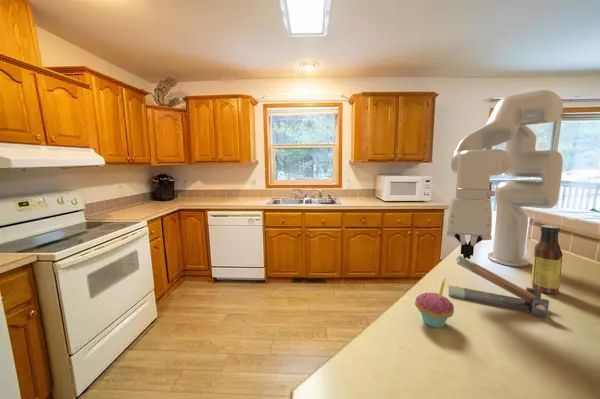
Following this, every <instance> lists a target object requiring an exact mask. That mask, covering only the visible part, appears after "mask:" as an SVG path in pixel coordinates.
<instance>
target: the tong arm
mask: <svg viewBox="0 0 600 399" xmlns="http://www.w3.org/2000/svg"><path fill="white" fill-rule="evenodd" d="M455 261H456V264H457V265H459V266H460V267H462V268H464V269H466V270H468V271H470V272H471V273H474V274H475V275H477V276H479V277H480V278H482V279H484V280H486V281H488V282H490V283H492V284H494V285H496V286H498V287H499V288H501V289H503V290H505V291H506V292H509V293H510V294H512V295H515V296H516V297H517V298H520V299H523V300H525V301H527V302H529V303H530V304H531V303H532V297H535V298H537V297H536V295H534V294H532V293H530V292H528V291H527V290H526V288H525V289H524V288H523V287H521V286H520V285H517V284H515V283H513V282H511V281H509V280H507V279H506V278H504V277H501V276H500V275H498V274H496V273H494V272H492V271H491V270H488V269H486V268H485V267H482V266H480V265H479V264H477V263H476V262H473V261H471V259H468V258H466V259H465V258H463V255H461V254H458V256H457V257H456V259H455Z"/></svg>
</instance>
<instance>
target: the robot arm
mask: <svg viewBox="0 0 600 399" xmlns="http://www.w3.org/2000/svg"><path fill="white" fill-rule="evenodd" d="M563 111H564V103H563V99H562V97H561V96H560V95H559V94H557V93H555V92H554V91H552V90H548V89H539V90H538V89H537V90H533V91H528V92H522V93H517V94H510V95H508V96H505V97H503V98H501V99H500V100H499V101H498V102H496V105H495V106H494V108H493V110H492V112H491V114H490V116H489V118H488V120H487V122H486V123H485V125H483V126H481V127H479V128H478V129H475V131H473V132H472V133H470V134H468V135H466V136H465V137H463V139H461V141H460V142H459V143H458V145H457V147H456V149H455V150H454V152H453V154H452V157H451V160H450V169H451V170H452V172H453V173H454V174H456V185H455V186H456V187H455V197H452V200H451V202H450V206H449V207H450V208H449V214H448V221H447V223H448V224H447V226H448V228H447V230H446V235H447V236H449V237H451V238H455V239H456V240H457V241H458V242H459V243H460V255H462V257H463V258H465V259H468V260H471V256H472V257H473V256H474V249H475V248H474V247H475V246H476V244H478V243H480V242H483V241H491V240H492V238H493V237H494V238H493V246H492V247H493V249H492V252H489V253H488V254H487V258H488V259H489V260H490V261H491V262H494V263H497V264H501V265H504V266H508V267H509V266H510V267H517V268H519V267H527V266H529V265H530V260H529V259H527V258H526V257H525V253H526V244H527V234H528V226H529V217H528V214H527V213H526V212H525V210H524V209H523V207H525V208H534V209H535V208H536V209H552V208H554V207H555V206H556V205H557V204H558V201H559V197H560V196H559V195H560V189H561V181H562V174H563V165H564V164H563V163H564V161H563V156H562V154H561V152H559V151H557V150H554V149H553V150H552V149H548V150H547V149H545V150H543V149H541V150H536V147H537V146H536V144H537V135H536V133H535V132H534V131H533V130H532V129H531V128H530V127H529V125H540V124H548V123H554V122H556V121H557V120H558V119H560V117H561V116H562V114H563ZM504 143H505V146H504V147H505V148H504V150H503V149H499V148H493V147H495V146H498V145H501V144H504ZM491 147H492V148H491ZM489 148H490V149H489ZM502 174H505V175H507V176H508V177H516V178H540V179H541V180H540V181H538V180H537V181H535V180H515V179H514V180H513V179H511V180H505V181H504V180H503V181H500V182H499V183H497V185H496V187H495V191H494V190H490V189H489V188H490V177H492V176H494V177H495V176H500V175H502ZM490 197H495V200H496V201H495V203H496V204H495V205H496V214H495V215H496V216H495V226H494V236H493V237H492V227H493V226H492V225H493V224H492V223H493V221H492V220H493V213H492V212H493V210H492V203H491V199H489V198H490ZM466 235H469V236H470V239H469V241H467V240H466Z"/></svg>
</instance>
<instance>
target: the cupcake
mask: <svg viewBox="0 0 600 399" xmlns="http://www.w3.org/2000/svg"><path fill="white" fill-rule="evenodd" d="M446 279H447V278H444V279H443V280H442V281H441V284H440V287H439V288H440V289H439V292H438V293H437V292H425V293H420V294H419V295H418V296H416V298H415V301H414V306H415V307H416V308H417V310H418V311H419V312H420V314H421V318H422V321H423V322H424V324H426V325H427V326H430V327H432V328H438V329H439V328H443V327H444V325H445V324H446V322H447V320H448V318H451V317H453V316H454V313H455V311H454V310H455V307H454V304H453V302H451V301H450V299H449V298H447V297H446V296H444V295H443V292H444V289H445V285H446Z"/></svg>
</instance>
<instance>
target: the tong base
mask: <svg viewBox="0 0 600 399" xmlns="http://www.w3.org/2000/svg"><path fill="white" fill-rule="evenodd" d="M447 288H448V293H447V294H448V297H455V298H458V299H463V300H468V301H473V302H479V303H483V304H488V305H493V306H498V307H501V308H502V307H503V308H506V309H507V308H508V309H512V310H517V311H522V312H526V313H530V315H531V316H534V317H540V318H544V319H548V313H549V305H550V301H549V300H548V299H546V298H545V299H544V298H542V293H543V292H542V291H541V290H539V289H534V288H533V287H528V286H526V287H525V290H527V291H528V292H530V293H532V294H534V295H536V297H537V298H535V297H532V303H531V304H530V303H529V302H527V301H525V300H523V299H521V298H519V297H513V296H509V295H505V294H498V293H492V292H488V291H487V292H486V291H483V290H482V291H481V290H476V289H471V288H466V287H461V286H454V285H450V284H449V285H448V287H447Z"/></svg>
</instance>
